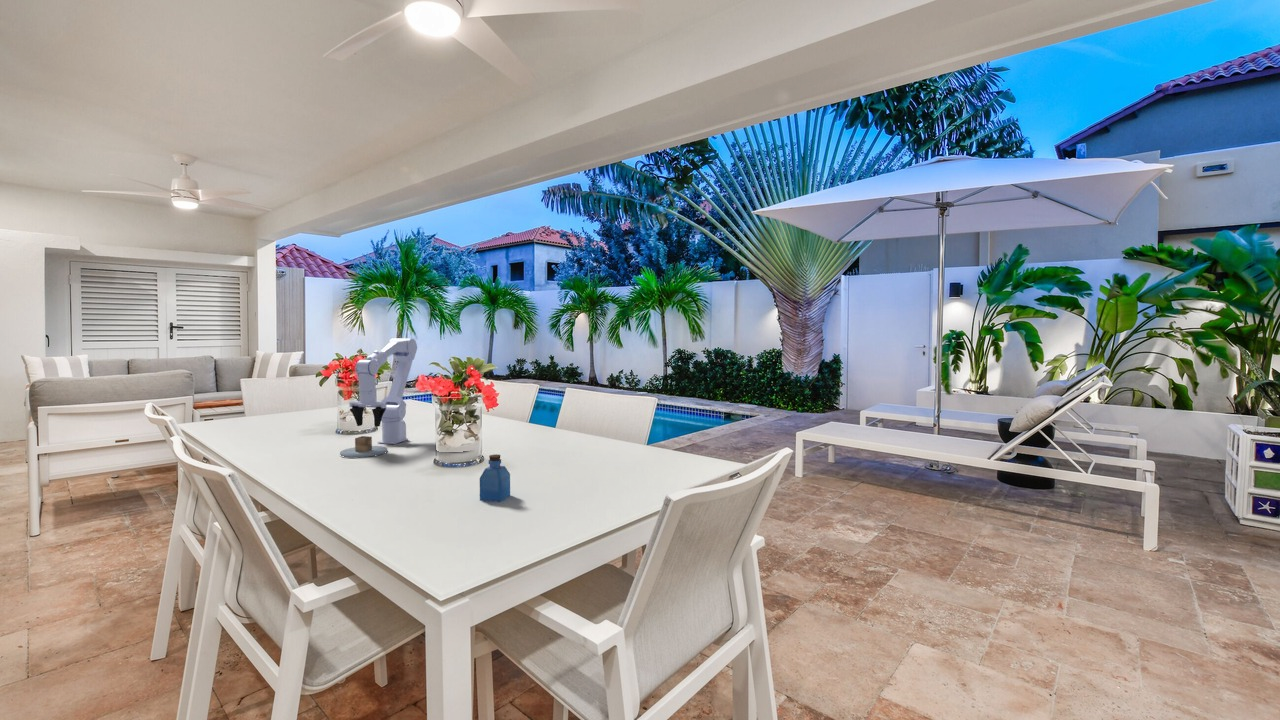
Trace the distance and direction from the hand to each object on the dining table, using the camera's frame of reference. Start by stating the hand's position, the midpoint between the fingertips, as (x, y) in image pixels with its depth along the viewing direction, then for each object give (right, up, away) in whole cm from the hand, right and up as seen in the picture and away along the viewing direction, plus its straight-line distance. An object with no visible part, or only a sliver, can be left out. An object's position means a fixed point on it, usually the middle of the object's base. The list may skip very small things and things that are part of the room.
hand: (368, 426), depth 216 cm
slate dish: (+1, -10, -5) cm, 11 cm away
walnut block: (+1, -9, -5) cm, 10 cm away
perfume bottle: (+64, -14, -58) cm, 88 cm away
